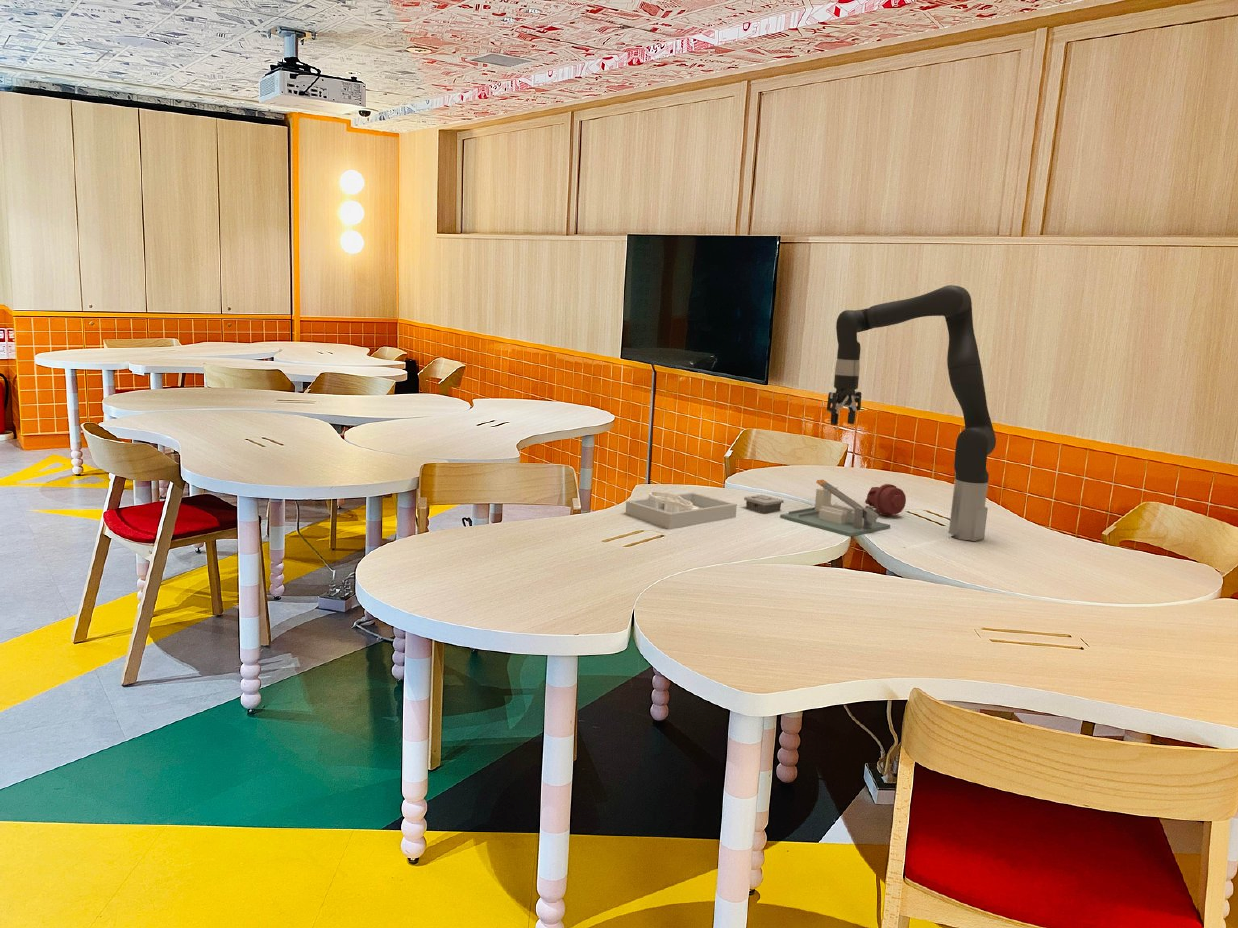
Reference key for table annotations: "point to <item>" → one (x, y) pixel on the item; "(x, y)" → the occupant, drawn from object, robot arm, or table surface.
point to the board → (834, 526)
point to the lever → (849, 501)
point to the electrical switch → (763, 503)
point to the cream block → (822, 498)
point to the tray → (706, 513)
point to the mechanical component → (886, 499)
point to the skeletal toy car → (671, 502)
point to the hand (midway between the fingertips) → (842, 424)
